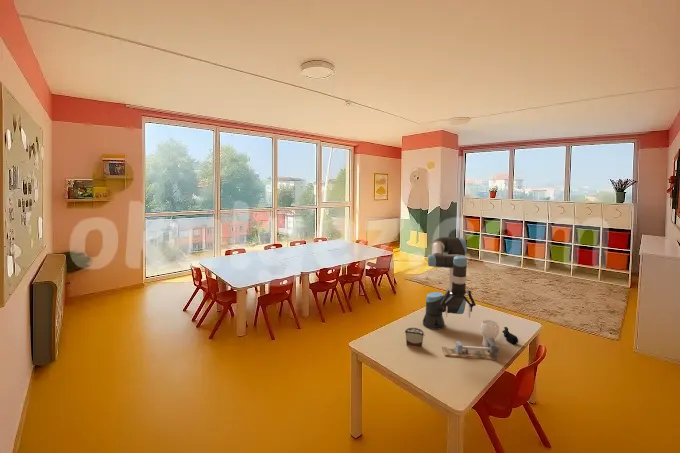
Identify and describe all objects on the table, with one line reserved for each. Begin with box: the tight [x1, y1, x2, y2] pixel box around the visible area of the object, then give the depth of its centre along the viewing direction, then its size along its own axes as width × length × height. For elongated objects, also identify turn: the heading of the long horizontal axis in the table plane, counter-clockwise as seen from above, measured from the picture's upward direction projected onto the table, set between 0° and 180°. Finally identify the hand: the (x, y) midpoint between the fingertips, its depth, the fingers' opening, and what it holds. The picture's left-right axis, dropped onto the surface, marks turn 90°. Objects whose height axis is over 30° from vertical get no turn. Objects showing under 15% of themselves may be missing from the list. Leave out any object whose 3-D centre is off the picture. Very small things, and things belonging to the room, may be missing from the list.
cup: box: [480, 319, 500, 347], centre depth 201 cm, size 11×11×15 cm
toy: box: [502, 326, 519, 346], centre depth 210 cm, size 15×5×7 cm, turn 0°
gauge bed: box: [441, 339, 500, 360], centre depth 192 cm, size 30×9×8 cm, turn 82°
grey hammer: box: [455, 340, 490, 355], centre depth 191 cm, size 19×7×5 cm, turn 82°
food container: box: [404, 327, 426, 349], centre depth 204 cm, size 12×6×10 cm, turn 71°
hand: (457, 316), depth 193 cm, fingers open, 13 cm apart
